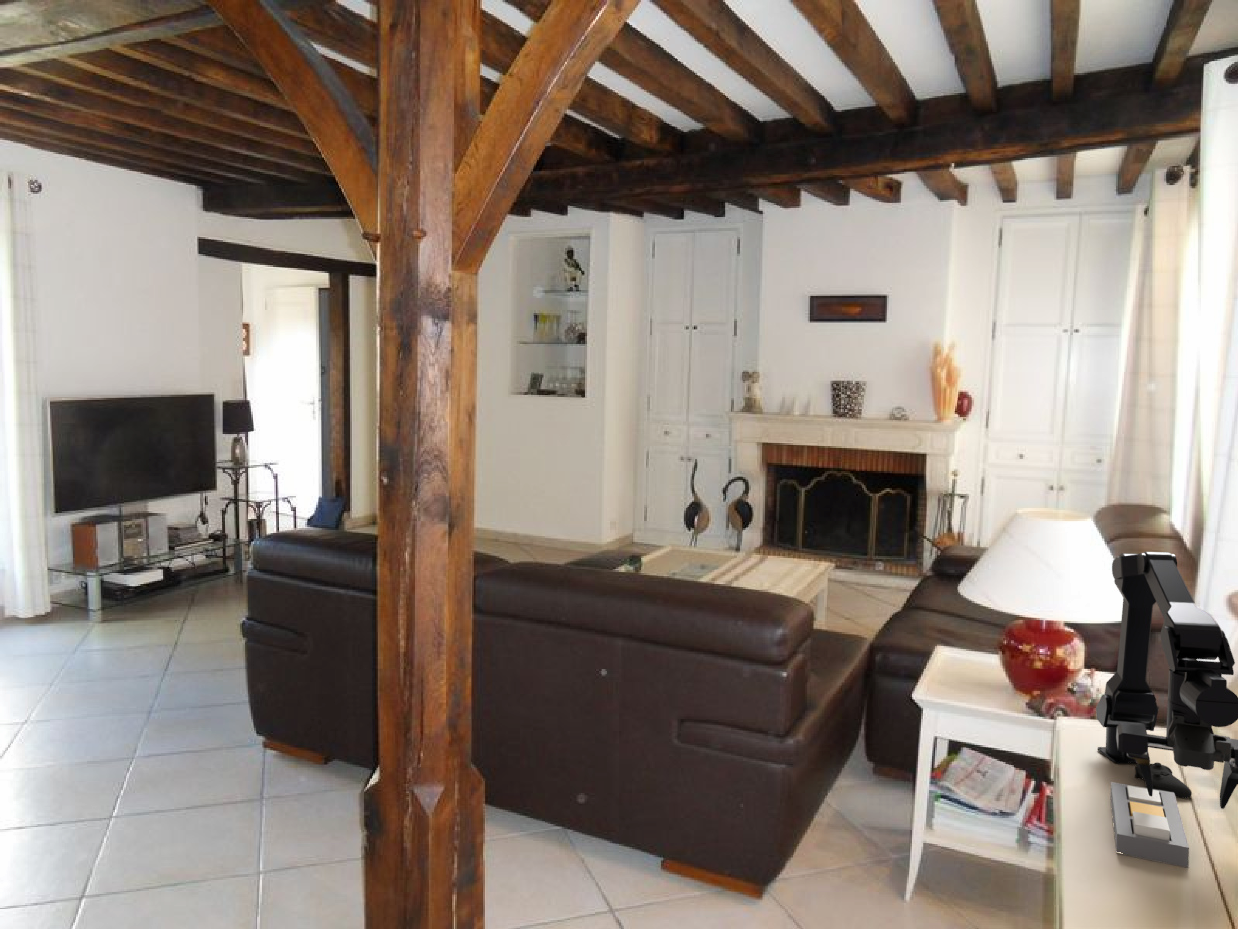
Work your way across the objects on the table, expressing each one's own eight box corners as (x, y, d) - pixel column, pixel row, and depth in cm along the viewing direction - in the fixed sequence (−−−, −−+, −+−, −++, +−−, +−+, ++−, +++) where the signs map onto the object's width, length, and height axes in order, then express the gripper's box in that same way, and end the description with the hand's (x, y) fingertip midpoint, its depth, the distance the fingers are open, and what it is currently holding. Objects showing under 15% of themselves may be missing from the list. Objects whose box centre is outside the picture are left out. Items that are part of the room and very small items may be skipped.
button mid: (1129, 813, 138) (1129, 801, 138) (1161, 819, 136) (1162, 807, 136) (1131, 825, 134) (1131, 813, 134) (1164, 832, 132) (1165, 819, 132)
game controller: (1197, 796, 145) (1170, 769, 146) (1170, 816, 146) (1144, 789, 147) (1172, 771, 155) (1147, 746, 155) (1148, 790, 156) (1123, 765, 156)
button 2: (1132, 824, 133) (1132, 811, 133) (1166, 830, 131) (1166, 817, 131) (1134, 837, 129) (1134, 824, 129) (1169, 844, 127) (1169, 830, 127)
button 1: (1126, 797, 144) (1127, 785, 144) (1158, 802, 142) (1158, 790, 142) (1128, 808, 140) (1129, 796, 140) (1160, 814, 138) (1161, 802, 138)
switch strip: (1110, 799, 146) (1111, 782, 146) (1173, 810, 142) (1174, 792, 142) (1116, 853, 129) (1117, 834, 129) (1188, 867, 125) (1189, 847, 125)
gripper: (1122, 710, 129) (1118, 811, 130) (1277, 731, 120) (1272, 839, 121) (1117, 687, 138) (1114, 781, 140) (1261, 705, 130) (1256, 805, 131)
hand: (1185, 801), depth 133 cm, fingers open, 9 cm apart
